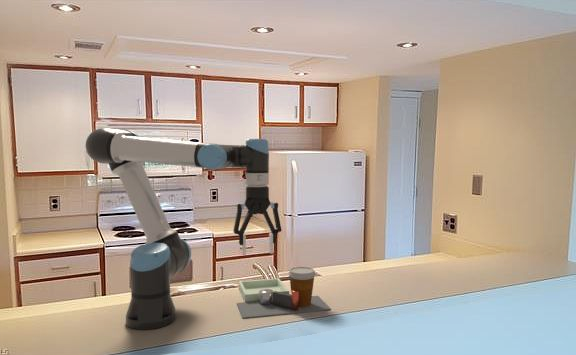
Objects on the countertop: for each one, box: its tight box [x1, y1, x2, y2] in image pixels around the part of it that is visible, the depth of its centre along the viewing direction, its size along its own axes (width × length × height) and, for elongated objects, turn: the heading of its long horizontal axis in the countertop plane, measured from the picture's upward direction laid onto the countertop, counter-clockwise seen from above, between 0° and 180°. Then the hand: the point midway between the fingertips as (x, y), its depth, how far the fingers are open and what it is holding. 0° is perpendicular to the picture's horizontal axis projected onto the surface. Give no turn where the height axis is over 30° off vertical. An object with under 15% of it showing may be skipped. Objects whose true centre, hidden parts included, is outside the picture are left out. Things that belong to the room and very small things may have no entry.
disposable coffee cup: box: [287, 266, 317, 307], centre depth 146 cm, size 10×10×12 cm
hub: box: [259, 289, 273, 305], centre depth 149 cm, size 19×5×4 cm, turn 105°
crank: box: [273, 290, 299, 310], centre depth 142 cm, size 10×2×6 cm, turn 57°
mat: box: [236, 295, 332, 319], centre depth 144 cm, size 30×14×1 cm, turn 105°
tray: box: [238, 277, 290, 302], centre depth 158 cm, size 16×16×3 cm
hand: (257, 253), depth 140 cm, fingers open, 8 cm apart
